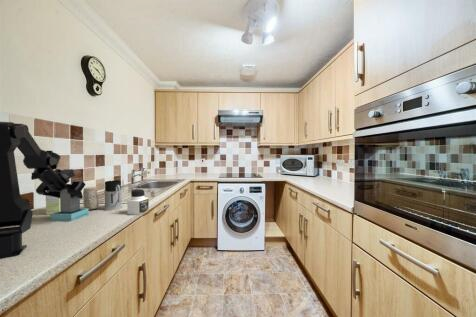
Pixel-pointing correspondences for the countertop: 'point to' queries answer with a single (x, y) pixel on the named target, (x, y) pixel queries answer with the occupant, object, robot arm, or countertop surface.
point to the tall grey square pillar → (68, 203)
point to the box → (52, 205)
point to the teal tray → (69, 215)
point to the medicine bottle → (137, 202)
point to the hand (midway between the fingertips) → (72, 197)
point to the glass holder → (113, 195)
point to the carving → (90, 198)
